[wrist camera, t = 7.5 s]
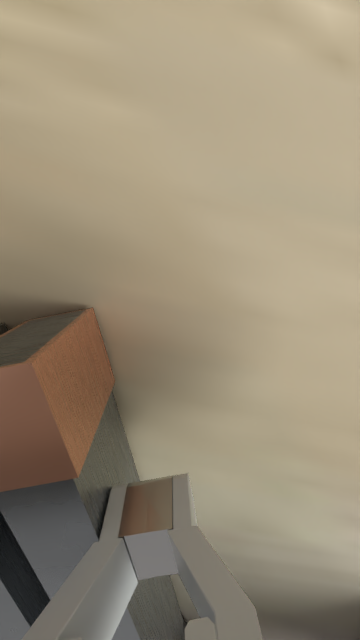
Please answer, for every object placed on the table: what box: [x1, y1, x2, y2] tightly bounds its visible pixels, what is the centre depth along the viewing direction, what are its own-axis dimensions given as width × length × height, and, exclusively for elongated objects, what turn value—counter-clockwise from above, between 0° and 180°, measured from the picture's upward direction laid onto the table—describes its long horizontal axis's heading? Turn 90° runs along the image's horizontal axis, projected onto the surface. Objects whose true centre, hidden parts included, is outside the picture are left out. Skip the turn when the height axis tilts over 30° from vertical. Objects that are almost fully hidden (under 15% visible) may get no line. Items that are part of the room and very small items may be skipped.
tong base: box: [0, 323, 50, 640], centre depth 11 cm, size 26×7×5 cm, turn 10°
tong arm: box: [0, 308, 187, 640], centre depth 10 cm, size 21×3×4 cm, turn 11°
